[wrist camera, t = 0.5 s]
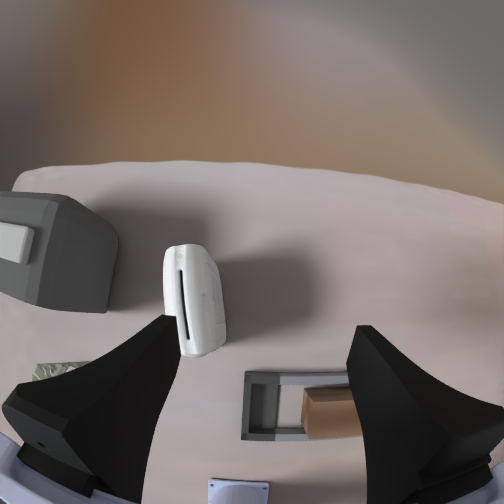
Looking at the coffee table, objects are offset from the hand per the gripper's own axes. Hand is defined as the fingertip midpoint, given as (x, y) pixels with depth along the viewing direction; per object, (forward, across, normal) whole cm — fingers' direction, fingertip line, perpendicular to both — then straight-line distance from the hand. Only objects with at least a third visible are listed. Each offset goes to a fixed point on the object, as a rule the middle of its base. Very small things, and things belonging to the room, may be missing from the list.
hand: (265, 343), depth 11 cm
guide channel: (+14, -6, +21) cm, 26 cm away
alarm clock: (+22, +27, +8) cm, 36 cm away
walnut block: (+14, -10, +21) cm, 27 cm away
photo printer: (+20, +7, +11) cm, 24 cm away
